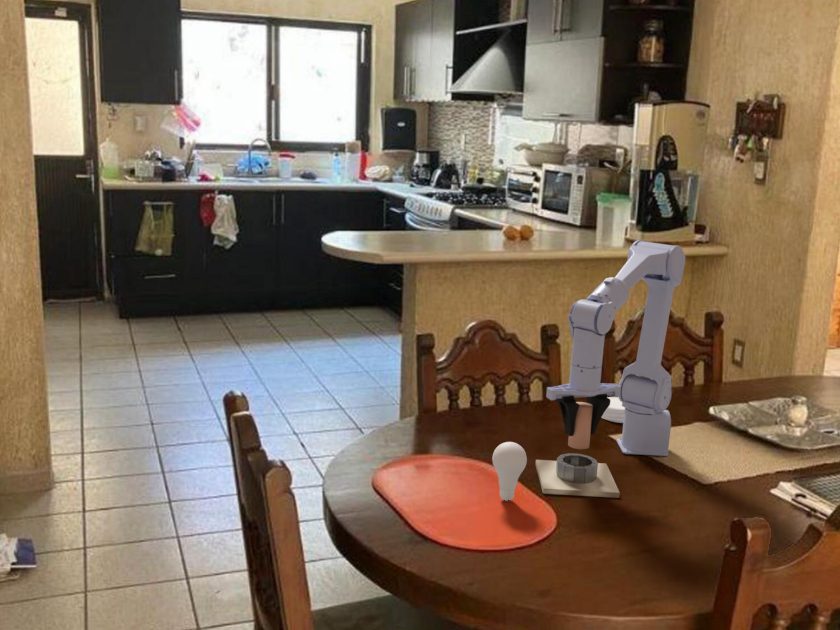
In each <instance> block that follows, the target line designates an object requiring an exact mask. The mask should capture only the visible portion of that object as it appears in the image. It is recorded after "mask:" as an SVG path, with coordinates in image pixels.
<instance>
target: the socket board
mask: <svg viewBox="0 0 840 630" xmlns="http://www.w3.org/2000/svg"><path fill="white" fill-rule="evenodd" d="M534 466H535V468H536V472H537V475H538V479H539V483H540V487H541V490H542V494H545V495H547V494H548V495H564V496H581V497H582V496H583V497H599V498H600V497H601V498H602V497H603V498H615V499H617V498H620V495H621V493H620V491H619V488H618V486H617V484H616V482H615V479H614V477H613V475H612V473H611V471H610V469H609V466H608V465H607V463H604V462H603V463H601V462H598V461H597V459H595V458H594V457H592V456H590V455H586V454H581V453H574V452H573V453H571V452H569V453H563V454H560V455H558V457H557V458H556V460H548V459H535V465H534Z"/></svg>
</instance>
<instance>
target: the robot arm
mask: <svg viewBox="0 0 840 630" xmlns="http://www.w3.org/2000/svg"><path fill="white" fill-rule="evenodd" d="M685 265H686V254H685V252H684V250H683V248H682V246H681V245H671V244H665V243H658V242H651V241H643V240H642V239H637V240H635V241H634V242H633V243H632V245H631V246H630V247H629V248H628V253H627V260H626V262H625V263H624V265H623V266H622V267H621V268H620V270H619V271H618V273H617V274H616V275H615V276H614V277H611V276H610V277H606V278H605V279H604V280H603V281H602V282H601V283H600V284H599V285H598V286H597V287H596V288H595V289H594V290H593V291H592V292H591V294H589V295H588V297H587V298H584V299H583V298H582V299H579V300H577V301H575V302H574V303H573V304H572V306H570V307H571V308H570V311H569V314H568V317H567V319H568V326H569V328H570V333H569V335H570V338H571V339H572V345H571V346H572V347H571V355H570V356H571V358H570V366H569V367H570V369H569V378H568V379H569V381H568V383H565V384H560V385H555V386H547V387H546V395H545V396H546V398H547V399H548V400H550V401H555V400H556V402H557V406H558V407H559V411H560V412H561V416H562V420H563V421H562V422H563V427H564V433H565V434H566V435H568V437H569V436H573V434H574V429H575V419H576V415H577V411H578V408H579V406H580V405H579V404H578V403H576V402H577V401H576V399H575V398H586V403H589V404H591V405H593V410H592V422H591V433H590V435H595V434H596V432H597V429H598V426H599V424H600V421H601V419H602V418H601V417H602V415H603V414H604V412H605V411H606V409H607V408H608V407H609V405H610V401H611V400H610V399H608V398H607V397H608V396H609V397H610V396H613V397H619V400H620V401H621V402H622V406H623V407H625V412H624V422H623V423H622V431H621V432H622V433H621V434H622V435H621V438H616V440H615V441H616V443H617V445H618V446H619V448H620V450H621V452H622V453H623V454H625V455H637V456H638V455H640V456H641V455H642V456H659V457H669V455H670V454H669V445H670V440H671V439H670V437H671V430H672V417H671V416H672V415H671V414H670V411H669V410H668V409H667V408H668V407H669V405H670V402H671V400H672V376H671V374H670V373H669V372H668V371H667V370H666V368H664V367H663V366H662V359H663V353H664V347H665V342H666V335H667V330H668V329H667V328H668V324H669V319H670V318H669V317H670V313H671V308H672V304H673V303H672V301H673V298H674V297H673V296H674V291H675V288H676V287H678V286H681V284H682V281H683V280H682V279H683V275H684V270H685ZM640 280H642V281H644V282H645V283H646V285H647V287H648V288H647V289H648V290H647V296H646V301H645V306H644V307H645V308H644V314H643V320H642V324H641V329H640V330H641V331H640V336H639V341H638V342H639V343H638V348H637V355H636V360H635V362H633V363H630V364H629V365H627V366H626V367H624V369H623V371H622V372H623V373H622V376H621V378H620V380H619V382H618V384H617V383H606V382H605V383H603V382H602V383H601V379H602V368H603V359H604V357H603V356H604V348H605V347H604V346H605V338H606V334H607V333H608V332H609V331H610V330H611V327H612V325H613V321H614V319H615V318H616V316H617V315H616V314H617V312H618V311H619V309H621V308H622V307H623V306H624V304H625V303H626V302H627V301H628V300H629V297H630V290H631V288H633V287H634V286H635V285H637V283H638V282H640Z"/></svg>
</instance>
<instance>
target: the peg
mask: <svg viewBox="0 0 840 630" xmlns="http://www.w3.org/2000/svg"><path fill="white" fill-rule="evenodd" d="M575 402H576V403H578V404H579V405H580V406H579V408H578V411H577V415H576V419H575V429H574V434H573V436H569V435H568V437H567V438H568V441H567V445H568V447H570V448H572V449H576V450H586V449H589V448H590V442H591V434H590V433H591V422H592V410H593V405H591V404H589V403H587V402H583V401H575Z"/></svg>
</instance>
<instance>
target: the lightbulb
mask: <svg viewBox="0 0 840 630" xmlns="http://www.w3.org/2000/svg"><path fill="white" fill-rule="evenodd" d="M527 457H528V456H527V453H526V451H525V448H523V447H522V446H521V445H520V444H518V443H517V442H513V441H506V442H502V443H500V444H499V445H498V446H497V447H496V448H495V449H494V451H493V454H492V458H491V459H492V465H493V468H494V470H495V471H496V474H497V478H498V486H499V497H500V499H501V500H503V501H504V500H505V501H504V502H509V501H511V500H513V499H514V497H515V492H516V491H515V490H516V488H517V484H518V480H519V479H520V476H521V474H522V473H523V471H524V470H525V469H526V466H527V462H528V458H527ZM508 500H509V501H508Z"/></svg>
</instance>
